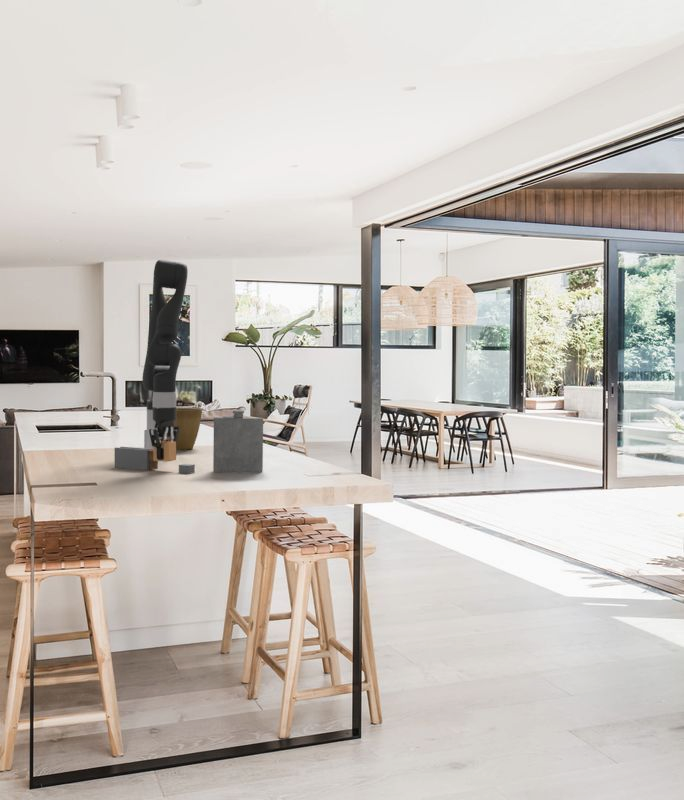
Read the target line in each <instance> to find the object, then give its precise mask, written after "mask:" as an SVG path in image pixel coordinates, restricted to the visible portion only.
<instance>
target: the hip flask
mask: <svg viewBox="0 0 684 800" xmlns="http://www.w3.org/2000/svg"><path fill="white" fill-rule="evenodd" d="M232 414H233V415H230V416H229V415H228V416H222V417H221V416H220V417H213V450H212V451H213V454H212V455H213V462H212V463H213V464H212V466H213V469H212V470H213V471H214V472H213V471H212V472H213V473H232V472H254V473H263V472H262V471H264V470H263V467H264V465H263V464H264V461H263V460H264V417H244V414H245V411H244V410H240V409H239V410H238V409H236V410H232Z"/></svg>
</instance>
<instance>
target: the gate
mask: <svg viewBox="0 0 684 800" xmlns="http://www.w3.org/2000/svg"><path fill="white" fill-rule="evenodd" d="M130 449H131V448H130ZM158 462H159V461H153V450H149V470H158V467H159V466H158V465H159V463H158Z"/></svg>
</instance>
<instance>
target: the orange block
mask: <svg viewBox="0 0 684 800" xmlns="http://www.w3.org/2000/svg"><path fill="white" fill-rule="evenodd" d="M155 443H156V442H155ZM160 444H161V441H160ZM163 448H164V459H163V460H158V459H157V448H156V447H154V446H153V461H158V462H174V461H177V450H176V442H172V441H171V442H170V441H165V442H164V447H163Z"/></svg>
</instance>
